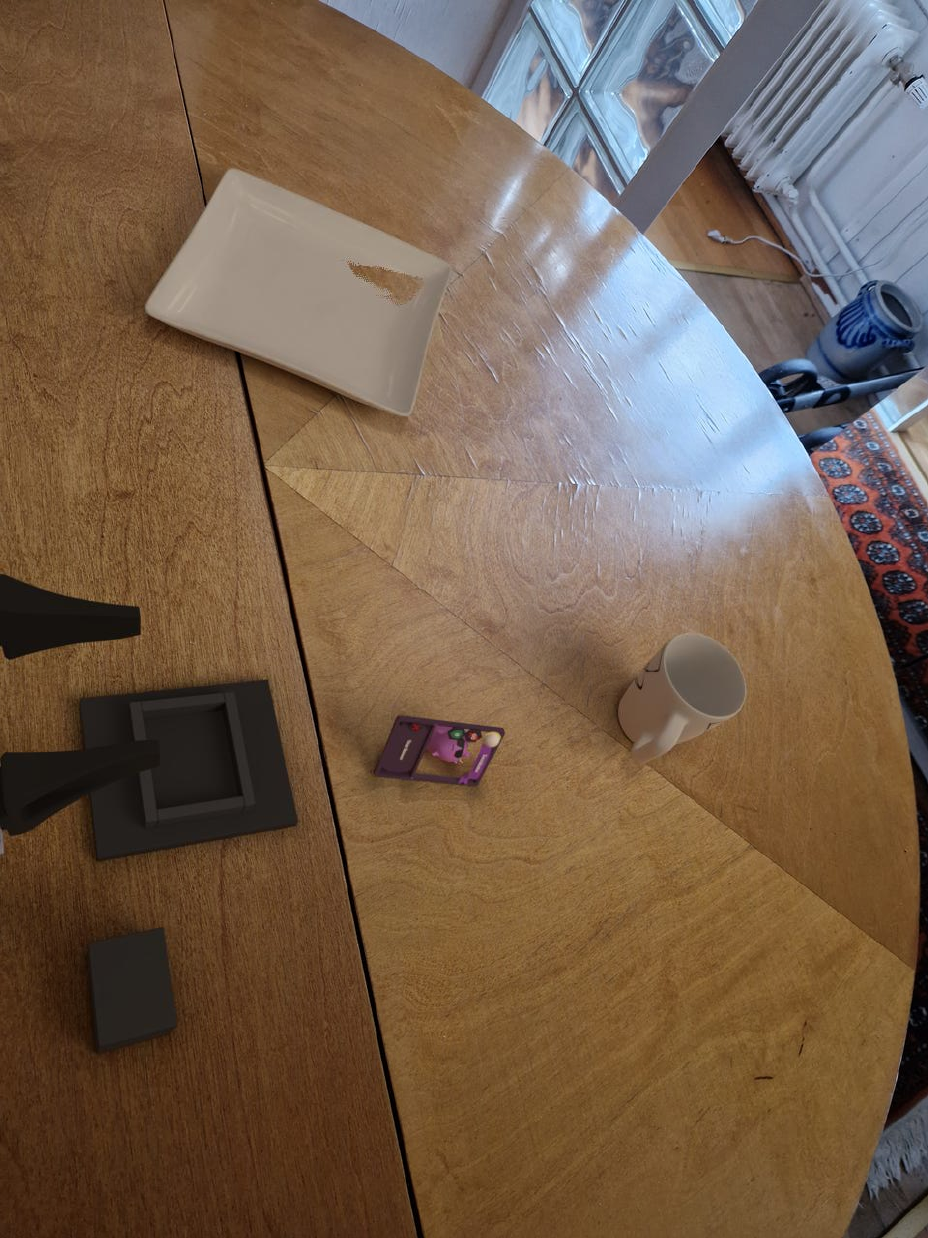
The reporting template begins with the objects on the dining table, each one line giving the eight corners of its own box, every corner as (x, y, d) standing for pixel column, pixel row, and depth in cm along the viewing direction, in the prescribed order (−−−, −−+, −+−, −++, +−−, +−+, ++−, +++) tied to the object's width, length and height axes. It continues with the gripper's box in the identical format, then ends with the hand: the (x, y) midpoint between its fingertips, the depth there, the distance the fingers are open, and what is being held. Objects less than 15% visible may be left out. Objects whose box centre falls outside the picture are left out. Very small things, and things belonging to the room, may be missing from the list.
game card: (399, 725, 67) (507, 738, 70) (391, 678, 71) (495, 692, 74) (374, 783, 71) (479, 793, 74) (369, 735, 75) (468, 746, 78)
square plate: (444, 286, 107) (456, 260, 104) (399, 442, 92) (411, 416, 89) (225, 188, 102) (230, 158, 99) (137, 336, 86) (140, 305, 83)
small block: (95, 1054, 55) (98, 1047, 52) (86, 956, 58) (87, 943, 55) (170, 1034, 57) (177, 1025, 54) (158, 940, 60) (164, 926, 57)
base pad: (96, 862, 61) (98, 851, 59) (78, 703, 66) (79, 689, 64) (295, 826, 67) (302, 815, 65) (265, 684, 72) (271, 670, 70)
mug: (657, 805, 81) (722, 764, 73) (581, 751, 80) (638, 704, 73) (694, 715, 88) (757, 668, 80) (624, 665, 88) (680, 614, 80)
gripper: (-192, 853, 35) (170, 791, 40) (-183, 544, 41) (132, 526, 46) (-145, 894, 41) (166, 836, 46) (-143, 618, 47) (132, 594, 52)
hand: (149, 684), depth 46 cm, fingers open, 7 cm apart
